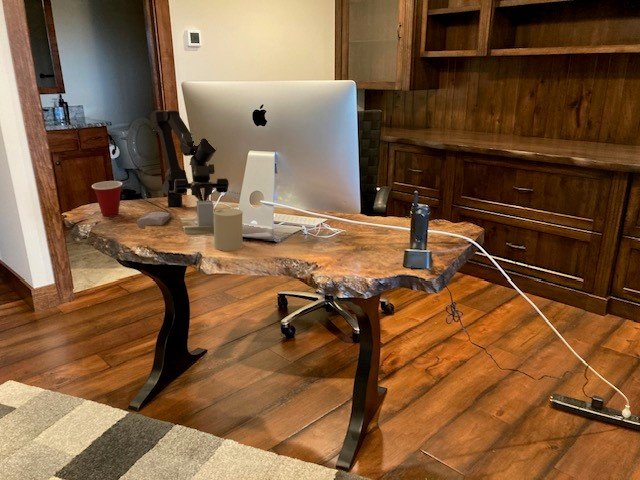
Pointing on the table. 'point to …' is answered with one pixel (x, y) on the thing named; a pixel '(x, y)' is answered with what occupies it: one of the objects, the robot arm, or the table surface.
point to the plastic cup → (108, 196)
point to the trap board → (196, 227)
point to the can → (228, 229)
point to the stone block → (153, 219)
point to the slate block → (205, 213)
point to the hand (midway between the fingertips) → (204, 206)
